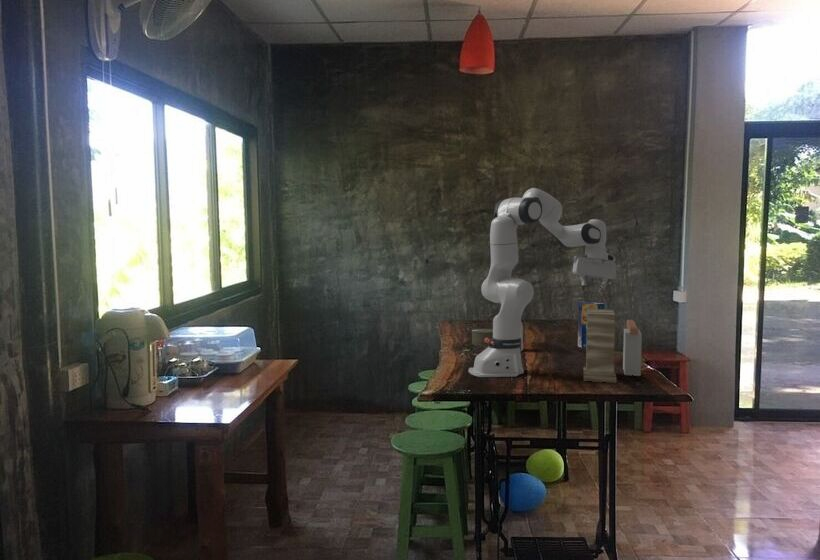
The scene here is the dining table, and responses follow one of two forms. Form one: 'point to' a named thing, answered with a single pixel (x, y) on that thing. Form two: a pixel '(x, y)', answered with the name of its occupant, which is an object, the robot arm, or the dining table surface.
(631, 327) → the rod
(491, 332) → the can
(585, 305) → the beverage box
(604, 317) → the stand
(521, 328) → the milk bottle
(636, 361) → the seat block
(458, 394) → the dining table surface
